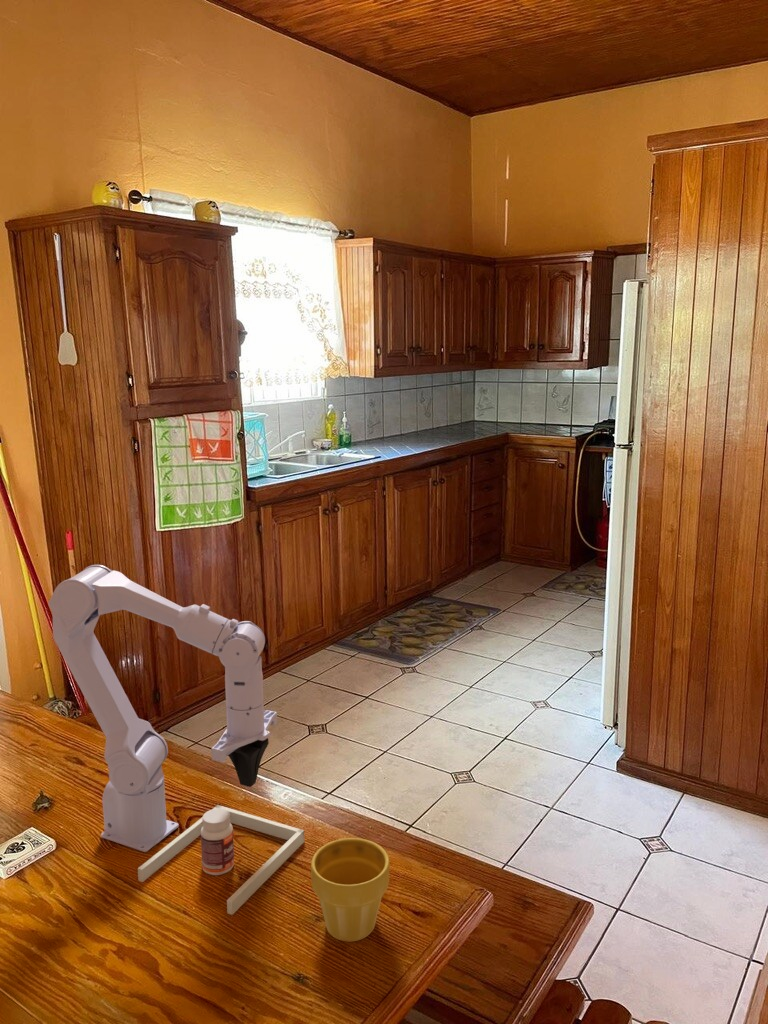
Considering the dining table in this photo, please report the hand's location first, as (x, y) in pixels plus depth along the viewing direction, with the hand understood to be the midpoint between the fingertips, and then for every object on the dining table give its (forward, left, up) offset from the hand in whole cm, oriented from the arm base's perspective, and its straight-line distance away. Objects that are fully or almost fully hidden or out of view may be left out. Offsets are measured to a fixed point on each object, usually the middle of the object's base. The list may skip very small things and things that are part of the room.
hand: (247, 783), depth 125 cm
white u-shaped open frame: (0, -7, -9) cm, 11 cm away
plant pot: (+24, -11, -10) cm, 28 cm away
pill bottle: (0, -8, -10) cm, 12 cm away
